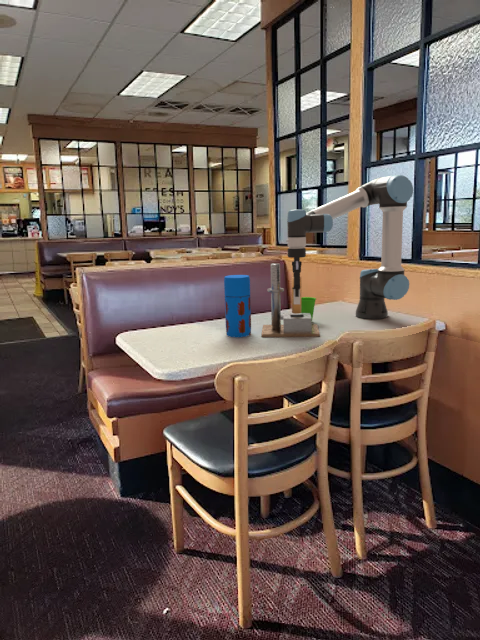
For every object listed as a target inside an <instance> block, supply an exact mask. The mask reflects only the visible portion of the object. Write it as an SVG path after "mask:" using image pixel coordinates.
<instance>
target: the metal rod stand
mask: <svg viewBox="0 0 480 640" xmlns="http://www.w3.org/2000/svg"><path fill="white" fill-rule="evenodd" d="M284 291H285V288H283V287H281V263H270V287H269V288H267V293H270V302H271V303H270V306H271V307H270V308H271V309H270V311H271V316H270V317H271V324H262V329H261V338H289V337H290V338H300V337H301V338H303V337H305V338H306V337H309V338H310V337H313V338H314V337H318V338H319V337H320V335H321V334H320V331H319V328H318V324H317V323H314V324H313V323H312V322H313V318H311V315H310V313H298V314H295V313H292V312H291V313H290V312H289V313H288V312H287V313H283V314H282V313H281V311H282V310H281V293H284ZM281 321H283V324H282V322H281Z"/></svg>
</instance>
